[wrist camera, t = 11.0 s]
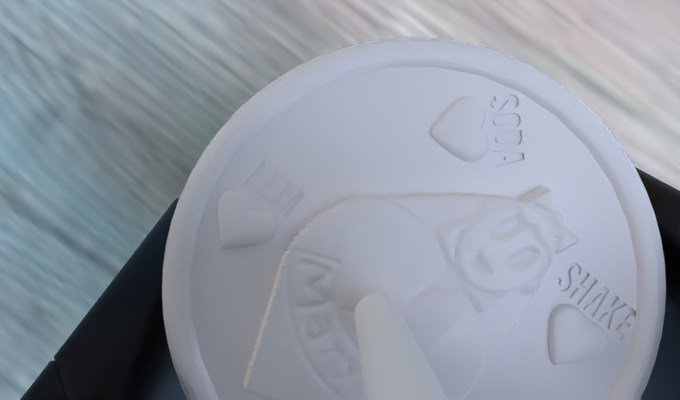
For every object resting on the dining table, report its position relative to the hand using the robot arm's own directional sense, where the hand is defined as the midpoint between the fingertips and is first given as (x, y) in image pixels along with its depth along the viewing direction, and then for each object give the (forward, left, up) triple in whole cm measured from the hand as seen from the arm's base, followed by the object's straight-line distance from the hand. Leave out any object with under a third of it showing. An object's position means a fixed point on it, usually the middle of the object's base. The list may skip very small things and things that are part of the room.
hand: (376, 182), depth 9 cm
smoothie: (-1, 0, -7) cm, 7 cm away
